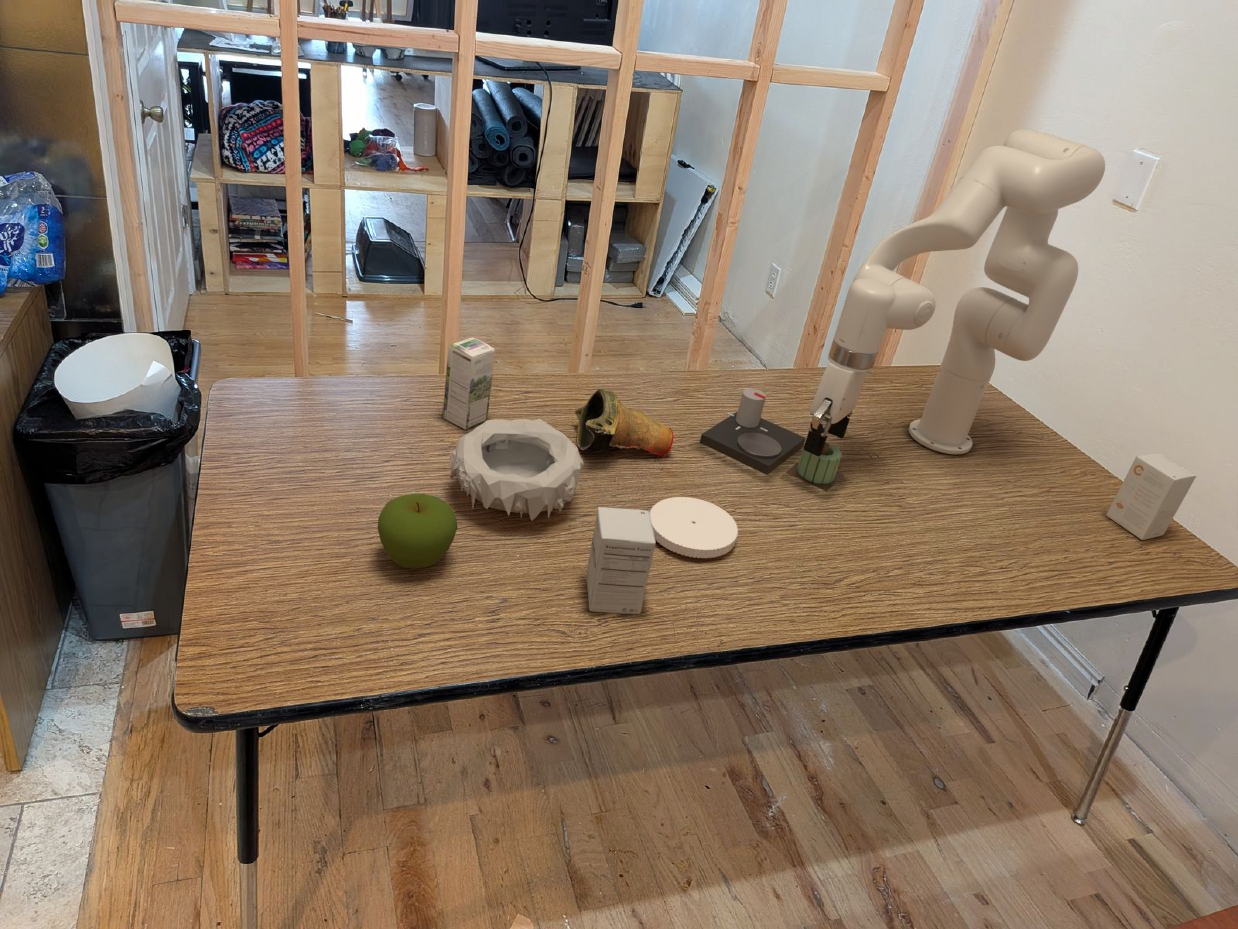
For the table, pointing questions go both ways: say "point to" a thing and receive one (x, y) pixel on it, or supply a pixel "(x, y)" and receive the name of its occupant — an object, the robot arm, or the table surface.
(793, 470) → the peg stand
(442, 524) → the apple
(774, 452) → the burner
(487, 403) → the syrup box
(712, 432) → the hob
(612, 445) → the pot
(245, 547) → the table surface
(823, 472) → the ring
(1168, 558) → the table surface
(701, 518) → the plastic lid
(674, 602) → the table surface
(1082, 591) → the table surface
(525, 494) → the bowl
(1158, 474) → the small box
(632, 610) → the white packaging box
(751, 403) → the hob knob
